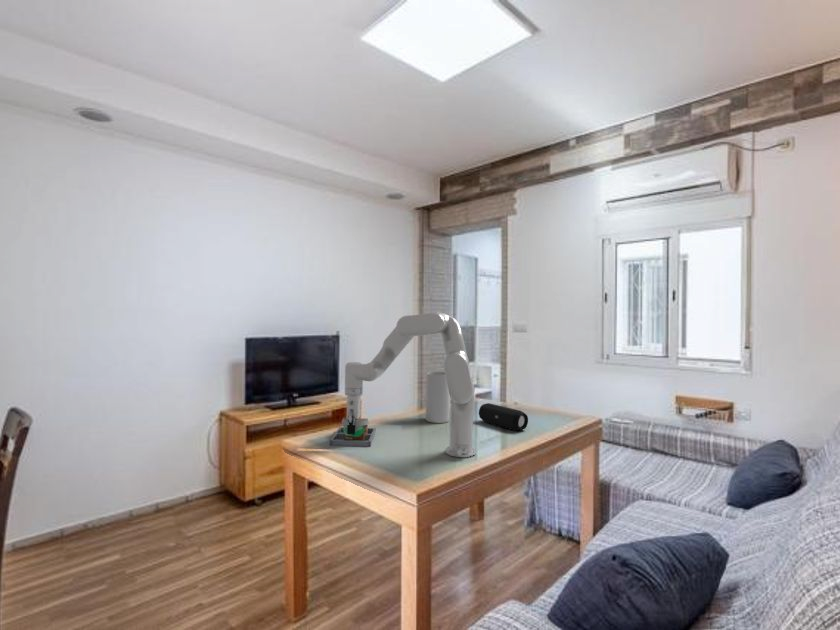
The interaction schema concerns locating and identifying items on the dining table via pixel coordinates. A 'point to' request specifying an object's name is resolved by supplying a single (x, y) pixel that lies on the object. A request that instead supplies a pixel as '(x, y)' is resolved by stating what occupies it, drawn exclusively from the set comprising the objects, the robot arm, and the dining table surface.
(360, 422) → the food container
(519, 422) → the portable speaker
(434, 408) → the cylinder vase
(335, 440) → the tray
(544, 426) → the dining table surface
